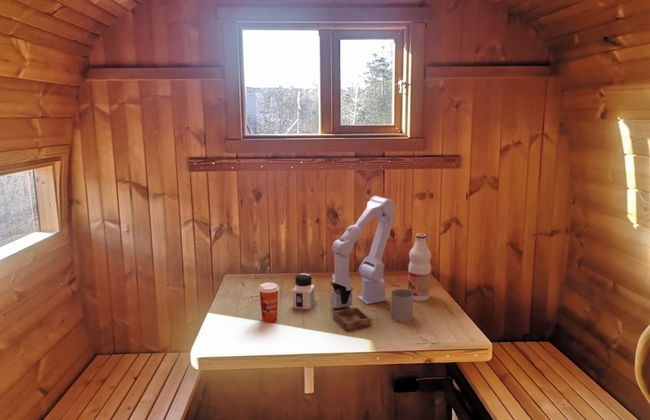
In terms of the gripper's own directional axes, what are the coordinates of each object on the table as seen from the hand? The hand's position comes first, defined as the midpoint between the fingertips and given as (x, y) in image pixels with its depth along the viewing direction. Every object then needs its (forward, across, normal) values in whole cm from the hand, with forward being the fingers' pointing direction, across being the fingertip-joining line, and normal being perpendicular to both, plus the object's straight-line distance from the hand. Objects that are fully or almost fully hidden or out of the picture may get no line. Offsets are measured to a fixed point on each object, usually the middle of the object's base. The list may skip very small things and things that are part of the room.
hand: (341, 301), depth 202 cm
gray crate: (+2, 0, 0) cm, 2 cm away
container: (+3, -9, -13) cm, 16 cm away
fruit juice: (+3, +3, +35) cm, 35 cm away
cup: (+3, +17, +18) cm, 25 cm away
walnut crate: (+3, +14, -2) cm, 14 cm away
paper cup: (+3, -1, -30) cm, 30 cm away
